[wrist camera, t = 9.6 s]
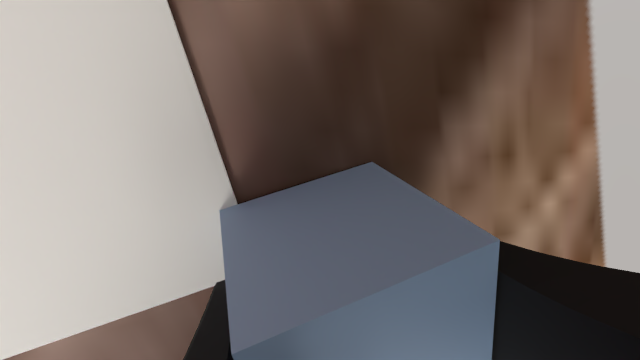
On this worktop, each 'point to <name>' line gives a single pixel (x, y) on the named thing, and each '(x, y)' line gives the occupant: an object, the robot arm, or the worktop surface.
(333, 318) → the blue cube
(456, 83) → the worktop surface
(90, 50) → the letter board
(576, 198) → the worktop surface
